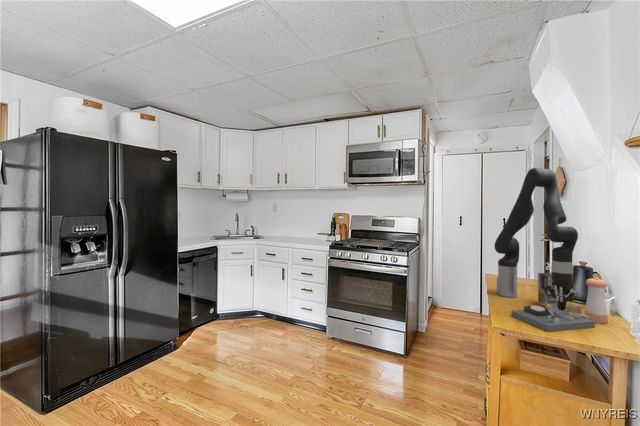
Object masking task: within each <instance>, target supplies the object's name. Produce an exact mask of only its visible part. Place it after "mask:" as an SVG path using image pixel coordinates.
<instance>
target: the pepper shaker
mask: <svg viewBox="0 0 640 426" xmlns="http://www.w3.org/2000/svg"><path fill="white" fill-rule="evenodd" d="M585 284H586V286H587V297H586V301H585V305H586V306H585V311H584V315H585V316H588V317H589V320H592V321H595V323H596V324H597V323H598V324H607V322H608V321H609V319H608V318H609V315H608V313H607V310H608V308H607V300H606V288H607V287H608V283H607V281H605V280H604V279H600V278H599V277H598V276H596V277H595V276H594V277H593V278H588V279H586V281H585ZM608 323H609V322H608Z"/></svg>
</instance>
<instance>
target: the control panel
mask: <svg viewBox="0 0 640 426" xmlns="http://www.w3.org/2000/svg"><path fill="white" fill-rule="evenodd" d="M531 306H532V305H524V306H523V309H514V310H511V317H513V318H515V319H517V320H520V321H522V322H525V323H527V324H528V325H529V324H530V325H531V326H533V327H535V328H537V329H541V330H543V331H545V332H548V333H550V332H560V331H570V330H579V329H580V330H581V329H591V328H592V329H593V328H595V325H596V324H595V323H596V322H595V321H592V320H589V317H588V316H585V314H582V313H581V318H572V317H569V316H566V309H565V310H560V309H558V307H557V308H554V307H552V308H551V309H552V311H553V314H554V316H555V318H554V319H552V318H551V315H550V313H549V310H548V309H547V308H546V307H544V308H545V311H536V310H533V309H531ZM534 306H538V305H534Z"/></svg>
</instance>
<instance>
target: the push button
mask: <svg viewBox="0 0 640 426" xmlns="http://www.w3.org/2000/svg"><path fill="white" fill-rule="evenodd" d="M530 306H531V309H533V310H536V311H545V308H546V307H544V306H542V305H541V306H540V305H537V306H535V305H530Z"/></svg>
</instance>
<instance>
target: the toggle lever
mask: <svg viewBox="0 0 640 426" xmlns="http://www.w3.org/2000/svg"><path fill="white" fill-rule="evenodd" d="M545 308H547V309H548V310H549V313H550V315H551V318H552V319H554V318H555V316H554V314H553V311H552V309H551V308H552V306H551V305H550V304H547V305H546V307H545Z"/></svg>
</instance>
